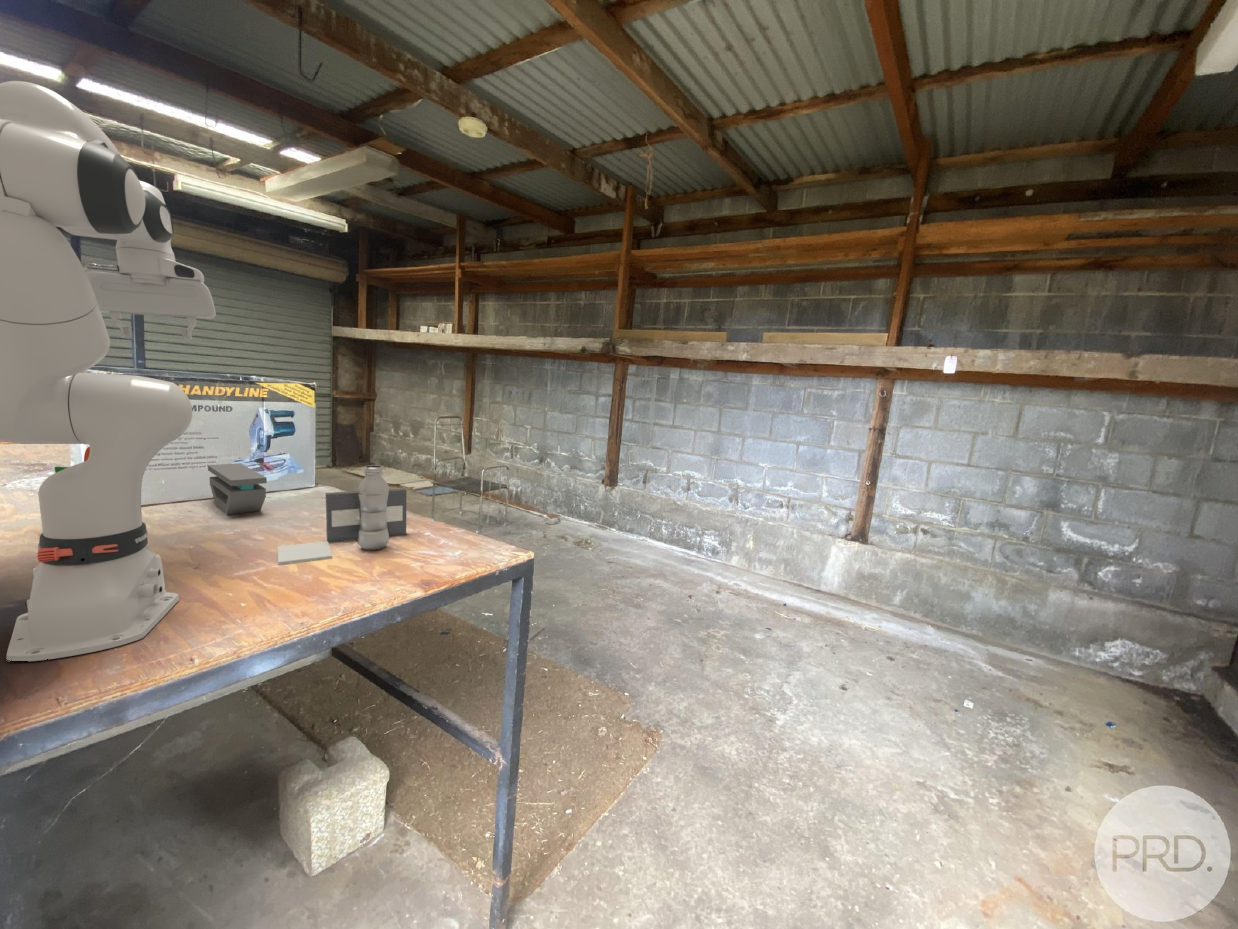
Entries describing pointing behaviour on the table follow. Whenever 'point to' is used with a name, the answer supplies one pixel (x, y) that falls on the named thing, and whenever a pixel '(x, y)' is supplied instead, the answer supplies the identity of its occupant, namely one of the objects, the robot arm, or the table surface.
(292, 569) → the table surface
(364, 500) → the plastic bottle
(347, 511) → the panel
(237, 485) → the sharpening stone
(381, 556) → the table surface
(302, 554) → the rubber pad
